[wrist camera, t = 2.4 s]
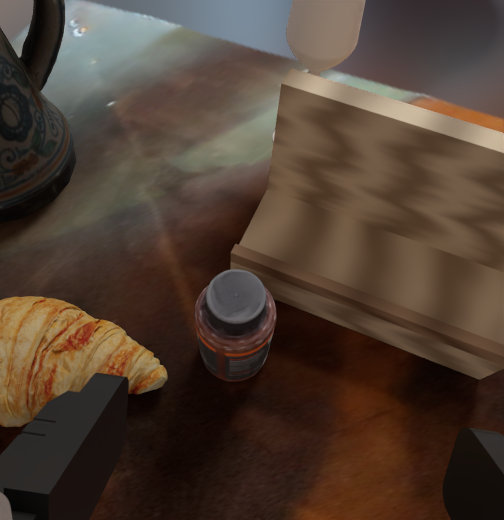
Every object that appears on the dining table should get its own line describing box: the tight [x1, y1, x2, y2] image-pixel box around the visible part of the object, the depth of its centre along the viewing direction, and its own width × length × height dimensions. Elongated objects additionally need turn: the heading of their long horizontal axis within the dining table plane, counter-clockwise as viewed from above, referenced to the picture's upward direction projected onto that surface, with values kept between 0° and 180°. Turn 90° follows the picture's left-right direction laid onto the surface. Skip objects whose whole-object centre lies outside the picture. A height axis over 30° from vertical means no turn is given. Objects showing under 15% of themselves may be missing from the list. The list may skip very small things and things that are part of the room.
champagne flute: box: [273, 0, 365, 143], centre depth 40 cm, size 7×7×24 cm
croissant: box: [0, 296, 168, 427], centre depth 33 cm, size 21×10×8 cm, turn 84°
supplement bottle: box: [194, 269, 276, 382], centre depth 32 cm, size 6×6×11 cm
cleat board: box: [230, 68, 504, 380], centre depth 34 cm, size 24×11×16 cm, turn 68°
